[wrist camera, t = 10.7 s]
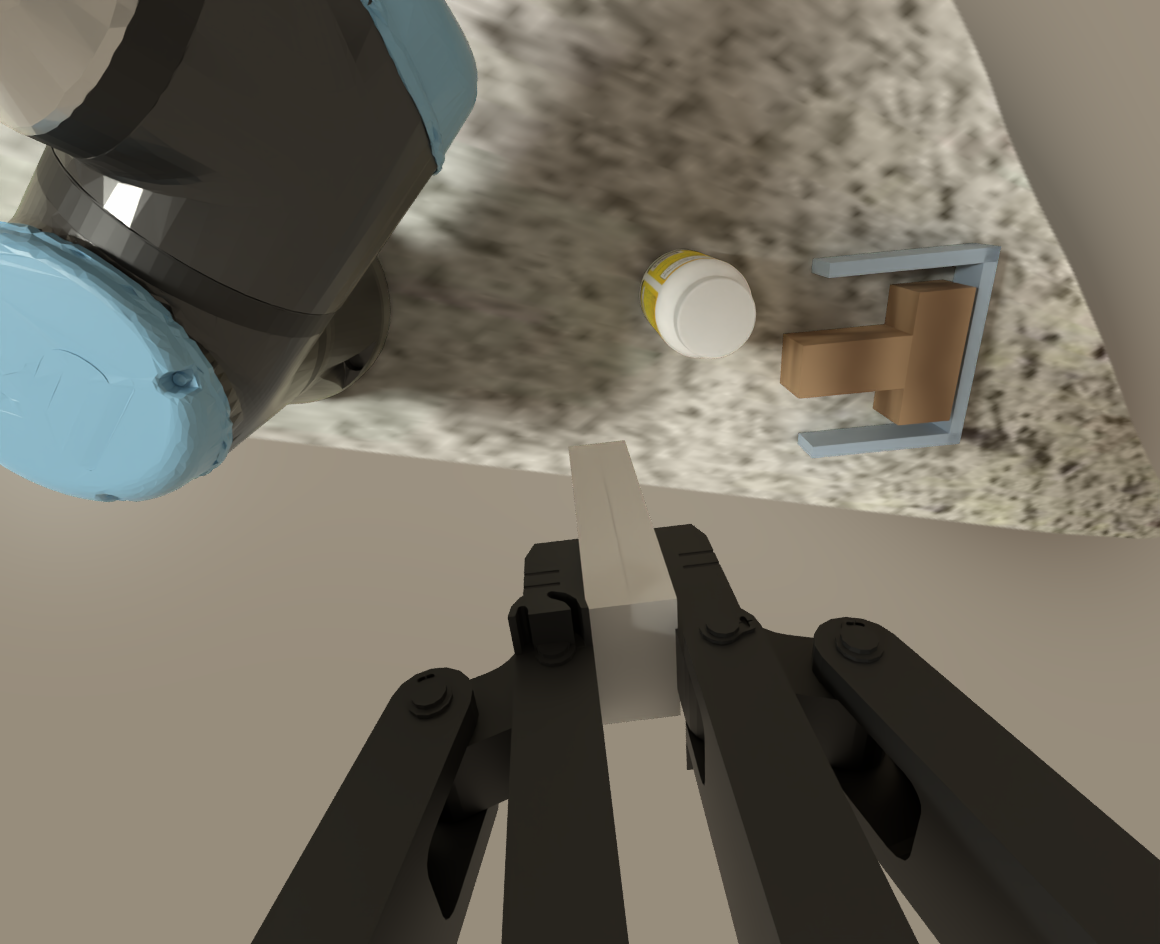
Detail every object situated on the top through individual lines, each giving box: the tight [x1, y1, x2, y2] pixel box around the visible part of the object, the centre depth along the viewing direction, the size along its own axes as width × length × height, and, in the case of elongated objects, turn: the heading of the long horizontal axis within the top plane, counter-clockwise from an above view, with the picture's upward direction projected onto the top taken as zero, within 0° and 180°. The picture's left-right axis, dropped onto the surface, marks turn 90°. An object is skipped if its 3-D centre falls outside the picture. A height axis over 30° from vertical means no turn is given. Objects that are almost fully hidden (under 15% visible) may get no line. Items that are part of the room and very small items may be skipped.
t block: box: [780, 280, 976, 425], centre depth 45 cm, size 12×10×4 cm
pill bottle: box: [639, 249, 756, 359], centre depth 39 cm, size 6×6×11 cm
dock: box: [798, 243, 1001, 458], centre depth 45 cm, size 12×15×3 cm
